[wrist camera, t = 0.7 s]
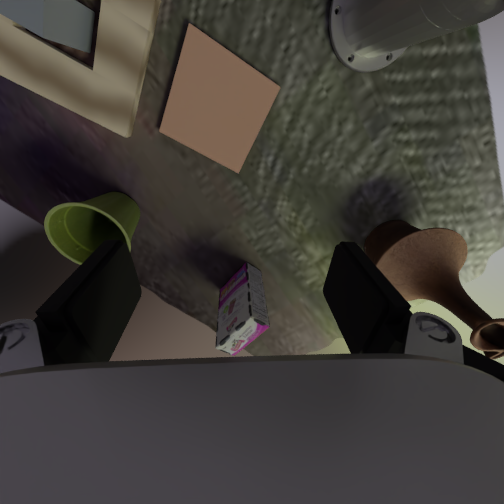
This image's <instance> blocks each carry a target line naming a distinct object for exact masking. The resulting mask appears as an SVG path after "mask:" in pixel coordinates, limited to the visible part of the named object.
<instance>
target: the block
mask: <svg viewBox="0 0 504 504" xmlns="http://www.w3.org/2000/svg"><path fill="white" fill-rule="evenodd" d="M0 14H2V15H3V16H5V17H7V18H9V19H11V20H12V21H14V22H16V23H18V24H19V25H21V26H23V27H25V28H26V29H28V30H30V31H32V32H33V33H35V34H37V35H39V36H40V37H42V38H45V39H48V40H51V41H54V42H57V43H60V44H63V45H66V46H69V47H72V48H75V49H78V50H81V51H84V52H88V53H91V44H92V36H93V27H94V18H95V12H94V11H92V10H90V9H89V8H87V7H86V6H84V5H83V4H81V3H79V2H78V1H76V0H0Z"/></svg>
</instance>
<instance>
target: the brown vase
mask: <svg viewBox="0 0 504 504" xmlns="http://www.w3.org/2000/svg"><path fill="white" fill-rule="evenodd" d="M364 250H365V254H366V255H367V256H368V257H369V258H370V260H371V261H372V262H373V263H374V264H375V265H376V266H377V268H378V269H379V270H380V271H381V272H382V273H383V274H384V276H385V277H386V278H387V279H388V280H389V281H390V282H391V284H392V285H393V286H394V287H395V288H396V289H397V290H398V292H399V293H400V294H401V295H402V296H403V297H404V298H405V300H406V301H410V300H415V299H427V300H431V301H434V302H436V303H438V304H440V305H442V306H443V307H445V308H446V309H448V310H449V311H451V312H452V313H453V314H454V315H456V316H457V317H458V318H459V319H460V320H462V321H463V322H464V323H466V324H467V325H468V326H469V327H470V328H472V329H473V331H472V333H471V336H470V342H471V344H472V345H473V346H474V347H475V348H477V349H478V350H482V351H483V352H484V354H485V356H486V357H488V358H490V359H497V358H500V357H502V356H504V318H501V319H500V318H499V319H492V318H491V317H490V316H489V315H488V314H487V313H485V311H483V310H482V309H481V308H480V307H479V306H478V305H477V304H476V303H475V302H474V301H473V300H472V299H471V298H470V297H469V296H468V295H467V293H466V292H465V290H464V289H463V287H462V285H461V283H460V280H459V271H460V269H461V268H462V266H463V265H464V263H465V260H466V257H467V244H466V242H465V240H464V239H463V237H462V236H461V235H460V234H458V233H457V232H455V231H453V230H450V229H446V228H428V229H423V230H421V229H418V228H416V227H414V226H412V225H410V224H409V223H407V222H405V221H402V220H392V221H388V222H385V223H383V224H381V225H379V226H378V227H376V228H375V229H374V230H373V231H372V232H371V233H370V234H369V236H368V237H367V239H366V241H365V245H364ZM499 323H500V324H499Z"/></svg>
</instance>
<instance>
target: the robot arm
mask: <svg viewBox="0 0 504 504" xmlns="http://www.w3.org/2000/svg"><path fill="white" fill-rule="evenodd" d="M335 10H337V15H336V14H335ZM502 11H504V0H332V2H331V7H330V15H329V33H330V39H331V43H332V47H333V49H334V52H335V54H336V56H337V57H338V59H339V60H340V62H342V63H343V64H344V65H345V66H346V67H347V68H349V69H351V70H353V71H357V72H371V71H376V70H378V69H381V68H384V67H385V66H387V65H389V64H390V63H392V62H393V61H394V60H395V59H397V58H398V57H399V56H400V55H401V54H402V53H403V52H404V51H405V50H406V48H407V47H408V46H411V45H414V44H417V43H420V42H423V41H426V40H429V39H432V38H435V37H438V36H441V35H444V34H447V33H450V32H453V31H456V30H459V29H462V28H465V27H468V26H471V25H474V24H477V23H480V22H482V21H485V20H487V19H489V18H491V17H493V16H495V15H497V14H499V13H500V12H502ZM348 57H350V61H348ZM386 57H387V60H386ZM323 294H324V297H325V299H326V301H327V303H328V305H329V307H330V309H331V312H332V314H333V316H334V318H335V320H336V322H337V324H338V327H339V329H340V331H341V333H342V335H343V337H344V339H345V341H346V344H347V346H348V348H349V350H350V352H351V354H317V355H279V356H247V357H217V358H189V359H188V358H187V359H162V360H161V359H160V360H135V361H134V360H133V361H109V360H110V358H111V356H112V353H113V352H114V350H115V348H116V346H117V344H118V342H119V340H120V338H121V336H122V333H123V332H124V330H125V328H126V326H127V324H128V322H129V320H130V318H131V316H132V313H133V311H134V309H135V307H136V305H137V303H138V301H139V299H140V297H141V287H140V283H139V280H138V277H137V274H136V270H135V267H134V264H133V260H132V257H131V254H130V251H129V247H128V245H127V244H126V243H123V241H122V240H105V241H104V242H103V243H102V244H101V245H100V246H99V247H98V248H97V249H96V250H95V251H94V252H93V253H92V254H91V255H90V256H89V257H88V258H87V259H86V260H85V261H84V262H83V263H82V264H81V265H80V266H79V267H78V268H77V270H75V272H74V273H73V274H72V275H71V276H70V277H69V278H68V279H67V280H66V281H65V282H64V283H63V284H62V285H61V286H60V287H59V288H58V289H57V290H56V291H55V292H54V293H53V294H52V295H51V296H50V297H49V298H48V299H47V301H46V302H45V303H44V304H43V305H42V306H41V307H40V308H39V309H38V310H37V311H36V314H37V315H38V316H37V317H36V318H35V320H33V321H32V320H29V319H18V320H12V321H9V322H6V323H3V324H1V325H0V504H504V365H502V364H501V363H498V362H497V361H494V360H493V359H490V358H488V357H486V356H484V355H482V354H480V353H478V352H476V351H474V350H472V349H470V348H468V347H466V346H464V345H462V339H461V336H460V334H459V333H458V331H457V330H456V329H455V328H454V327H453V326H452V325H451V324H450V323H448V322H447V321H445V320H443V319H442V318H440V317H438V316H436V315H433V314H430V313H425V312H416V313H414V314H412V312H411V311H410V310H409V309H410V307H411V305H410V304H409V303H408V302H407V301H406V300H405V298H404V297H403V296H402V295H401V294H400V293H399V292H398V290H397V289H396V288H395V287H394V286H393V285H392V284H391V282H390V281H389V280H388V279H387V278H386V277H385V276H384V274H383V273H382V272H381V271H380V270H379V269H378V268H377V266H376V265H375V264H374V263H373V262H372V261H371V260H370V258H369V257H368V256H367V255H366V254H365V253H364V252H363V250H362V249H361V248H360V247H359V246H358V245H357V244H356V243H355V242H340V244H339V245H336V247H335V250H334V253H333V257H332V260H331V263H330V267H329V270H328V274H327V277H326V280H325V284H324V287H323Z"/></svg>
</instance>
